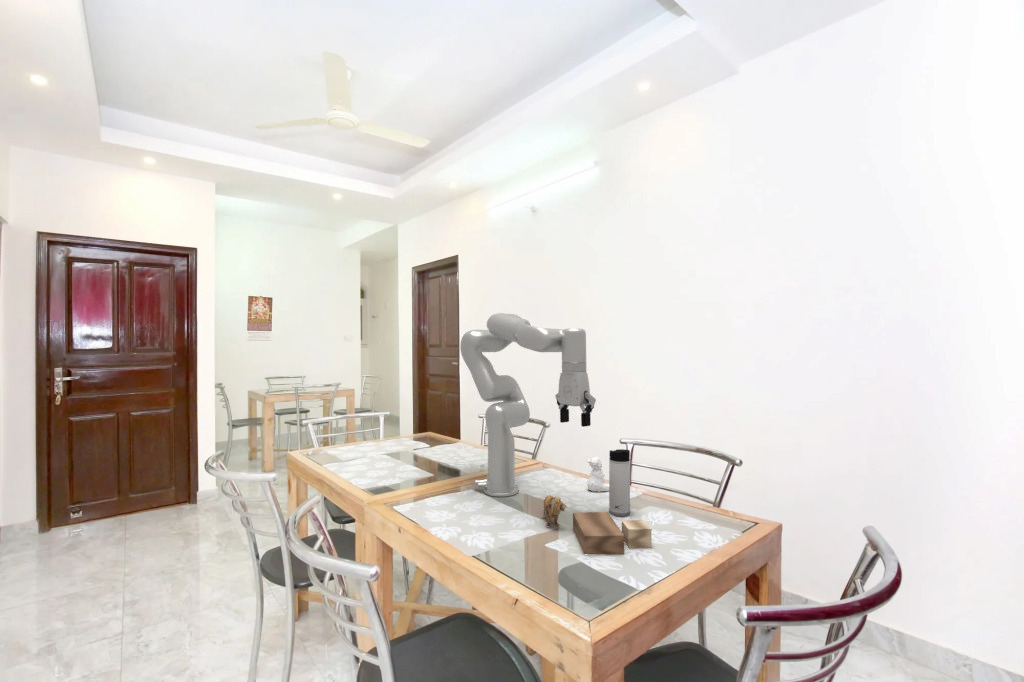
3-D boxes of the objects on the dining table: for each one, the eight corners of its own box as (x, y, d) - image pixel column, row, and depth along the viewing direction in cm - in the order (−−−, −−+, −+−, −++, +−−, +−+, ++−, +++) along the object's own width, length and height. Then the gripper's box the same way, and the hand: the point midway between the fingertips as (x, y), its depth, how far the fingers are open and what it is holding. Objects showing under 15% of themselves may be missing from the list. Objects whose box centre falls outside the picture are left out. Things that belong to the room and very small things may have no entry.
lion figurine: (567, 530, 128) (568, 498, 128) (549, 532, 127) (550, 500, 127) (551, 512, 142) (551, 483, 142) (535, 513, 141) (535, 484, 141)
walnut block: (584, 556, 113) (584, 536, 113) (572, 530, 129) (572, 512, 129) (624, 555, 114) (624, 535, 114) (607, 529, 130) (607, 512, 130)
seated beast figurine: (616, 491, 163) (616, 457, 163) (599, 495, 158) (599, 461, 158) (597, 484, 170) (597, 452, 171) (580, 488, 166) (580, 455, 166)
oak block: (628, 548, 117) (628, 529, 117) (621, 538, 123) (621, 520, 123) (651, 548, 117) (651, 529, 117) (643, 538, 123) (643, 520, 123)
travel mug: (619, 518, 137) (619, 452, 137) (605, 511, 143) (605, 447, 143) (635, 515, 140) (635, 450, 140) (620, 508, 146) (620, 445, 146)
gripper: (547, 368, 145) (547, 421, 145) (584, 369, 131) (585, 429, 131) (565, 367, 150) (565, 419, 149) (603, 368, 135) (604, 426, 135)
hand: (575, 424), depth 140 cm, fingers open, 9 cm apart
